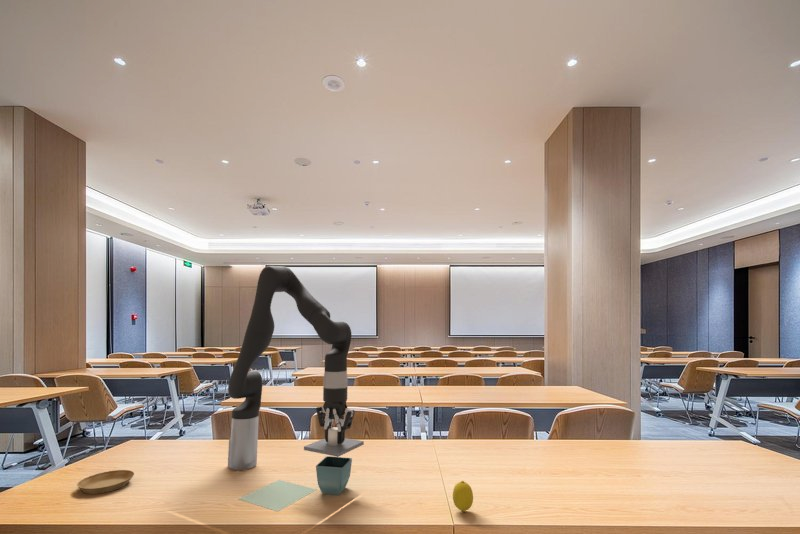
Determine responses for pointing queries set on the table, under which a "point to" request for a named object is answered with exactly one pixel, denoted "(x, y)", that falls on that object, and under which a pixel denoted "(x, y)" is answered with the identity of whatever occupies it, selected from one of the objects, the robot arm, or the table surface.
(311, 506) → the table surface
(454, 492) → the lemon
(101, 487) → the plant saucer
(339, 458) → the flower pot
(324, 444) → the lid
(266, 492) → the mat
